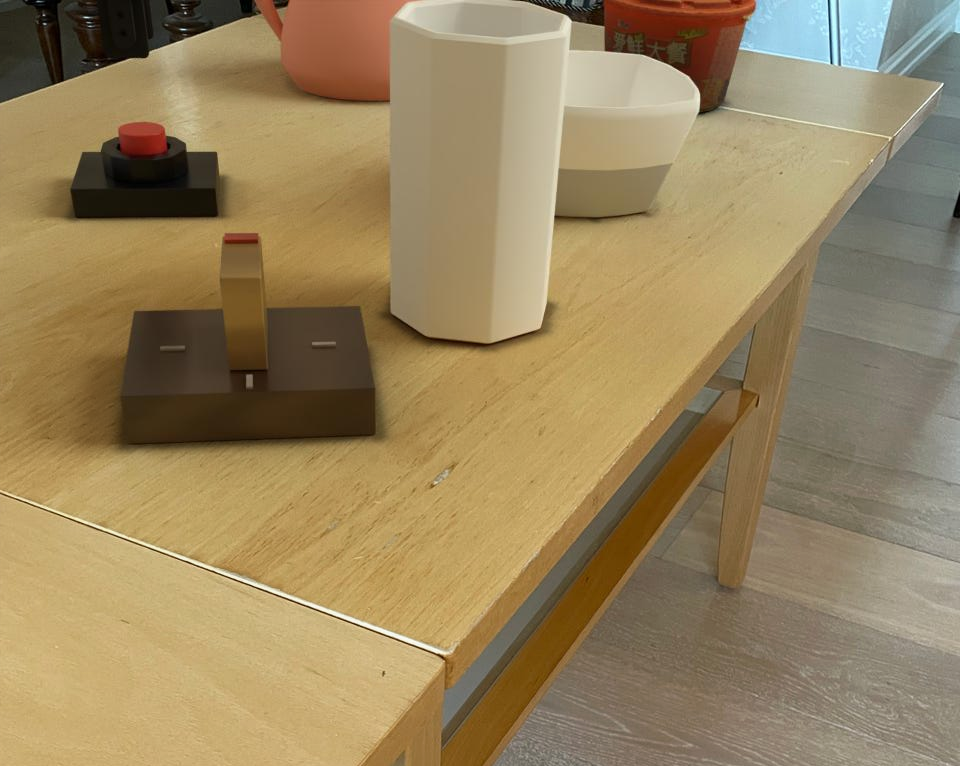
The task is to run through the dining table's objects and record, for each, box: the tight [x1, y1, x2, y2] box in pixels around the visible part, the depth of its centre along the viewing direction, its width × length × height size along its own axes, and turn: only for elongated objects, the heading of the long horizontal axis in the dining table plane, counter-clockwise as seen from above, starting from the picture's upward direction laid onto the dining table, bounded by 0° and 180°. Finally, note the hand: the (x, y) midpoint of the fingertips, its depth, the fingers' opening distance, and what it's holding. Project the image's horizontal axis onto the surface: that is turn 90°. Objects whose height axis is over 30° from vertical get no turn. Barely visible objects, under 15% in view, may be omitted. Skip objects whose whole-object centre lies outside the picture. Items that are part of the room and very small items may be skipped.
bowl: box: [554, 49, 700, 218], centre depth 97 cm, size 18×18×9 cm
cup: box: [389, 0, 573, 345], centre depth 75 cm, size 11×11×18 cm
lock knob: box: [219, 232, 268, 370], centre depth 66 cm, size 6×2×6 cm, turn 8°
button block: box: [69, 135, 221, 218], centre depth 93 cm, size 11×9×4 cm
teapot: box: [253, 0, 422, 102], centre depth 119 cm, size 25×17×13 cm
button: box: [117, 121, 167, 155], centre depth 92 cm, size 4×4×2 cm
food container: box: [603, 0, 757, 113], centre depth 120 cm, size 16×16×11 cm
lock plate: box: [119, 305, 377, 445], centre depth 69 cm, size 14×11×3 cm
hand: (130, 44), depth 87 cm, fingers open, 4 cm apart
